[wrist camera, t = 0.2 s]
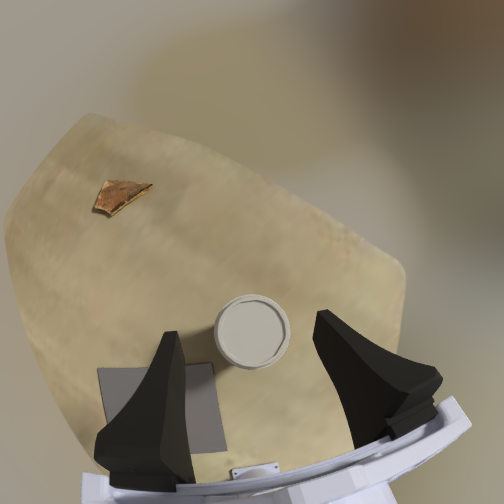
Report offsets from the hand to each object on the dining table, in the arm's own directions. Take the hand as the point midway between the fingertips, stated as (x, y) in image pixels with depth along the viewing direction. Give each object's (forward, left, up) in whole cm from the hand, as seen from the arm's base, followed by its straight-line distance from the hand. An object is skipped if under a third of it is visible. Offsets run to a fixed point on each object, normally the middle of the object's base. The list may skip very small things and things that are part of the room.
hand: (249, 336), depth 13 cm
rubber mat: (-11, +13, -31) cm, 35 cm away
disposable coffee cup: (+1, -3, -31) cm, 31 cm away
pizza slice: (+30, +18, -31) cm, 47 cm away
